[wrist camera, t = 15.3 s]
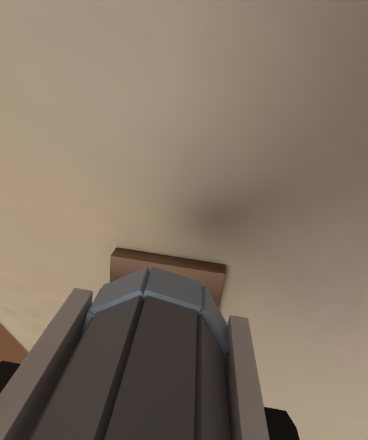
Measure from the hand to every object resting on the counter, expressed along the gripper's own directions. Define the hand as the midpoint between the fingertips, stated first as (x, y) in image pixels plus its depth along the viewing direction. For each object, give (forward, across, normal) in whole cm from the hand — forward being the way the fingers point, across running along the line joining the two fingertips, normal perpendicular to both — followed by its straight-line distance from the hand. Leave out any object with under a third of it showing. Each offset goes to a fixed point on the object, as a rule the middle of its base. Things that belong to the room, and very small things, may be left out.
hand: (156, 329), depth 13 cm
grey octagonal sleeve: (0, 0, 0) cm, 0 cm away
